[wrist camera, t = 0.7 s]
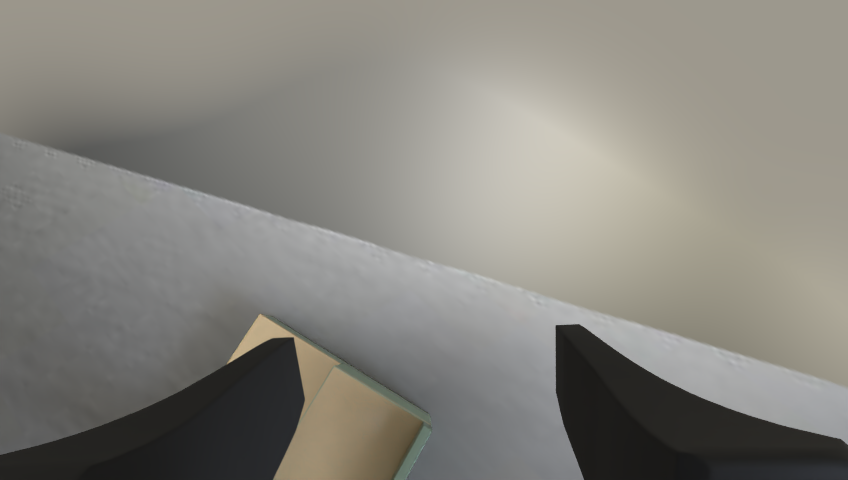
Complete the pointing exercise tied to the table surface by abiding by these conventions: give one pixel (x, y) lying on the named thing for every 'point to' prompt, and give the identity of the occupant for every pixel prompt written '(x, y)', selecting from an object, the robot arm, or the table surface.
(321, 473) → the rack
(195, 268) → the table surface
